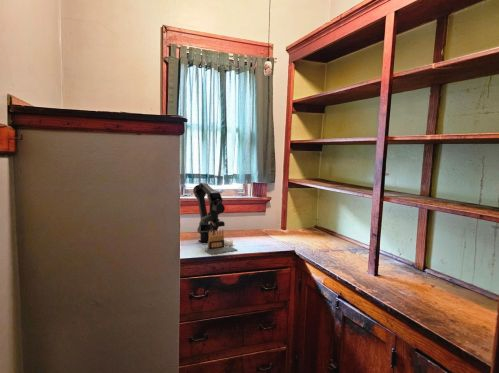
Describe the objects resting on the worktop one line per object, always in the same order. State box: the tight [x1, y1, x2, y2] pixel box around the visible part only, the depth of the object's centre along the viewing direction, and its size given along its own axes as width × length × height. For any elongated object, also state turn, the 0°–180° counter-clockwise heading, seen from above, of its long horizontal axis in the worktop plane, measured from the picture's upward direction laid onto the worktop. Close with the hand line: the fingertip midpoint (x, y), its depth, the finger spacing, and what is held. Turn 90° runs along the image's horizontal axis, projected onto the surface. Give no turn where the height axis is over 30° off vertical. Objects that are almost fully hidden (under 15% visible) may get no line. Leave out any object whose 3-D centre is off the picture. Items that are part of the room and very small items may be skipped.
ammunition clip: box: [207, 228, 225, 250], centre depth 199 cm, size 11×2×12 cm, turn 121°
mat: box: [204, 246, 238, 256], centre depth 194 cm, size 9×18×1 cm, turn 124°
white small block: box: [224, 238, 234, 247], centre depth 207 cm, size 6×6×4 cm
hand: (213, 235), depth 202 cm, fingers closed
